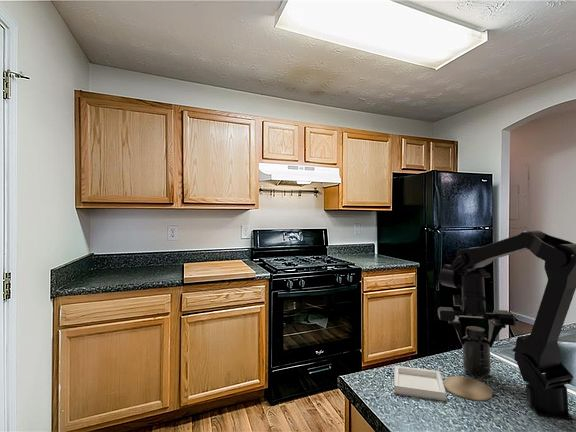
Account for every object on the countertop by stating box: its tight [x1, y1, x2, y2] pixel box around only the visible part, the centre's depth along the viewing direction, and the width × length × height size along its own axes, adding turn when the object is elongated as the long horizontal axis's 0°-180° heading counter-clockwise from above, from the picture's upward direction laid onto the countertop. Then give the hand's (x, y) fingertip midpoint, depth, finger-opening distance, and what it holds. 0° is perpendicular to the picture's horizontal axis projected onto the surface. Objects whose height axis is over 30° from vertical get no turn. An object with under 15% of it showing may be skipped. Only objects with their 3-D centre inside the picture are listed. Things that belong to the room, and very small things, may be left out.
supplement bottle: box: [462, 325, 492, 376], centre depth 88 cm, size 7×7×12 cm
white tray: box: [393, 365, 447, 402], centre depth 82 cm, size 12×12×2 cm
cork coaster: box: [443, 375, 493, 401], centre depth 80 cm, size 11×11×1 cm
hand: (475, 345), depth 88 cm, fingers closed on supplement bottle, 7 cm apart
